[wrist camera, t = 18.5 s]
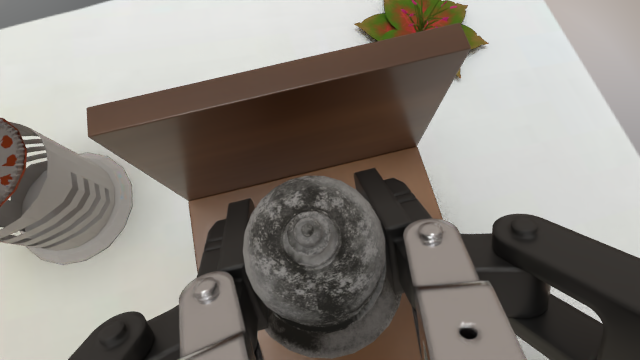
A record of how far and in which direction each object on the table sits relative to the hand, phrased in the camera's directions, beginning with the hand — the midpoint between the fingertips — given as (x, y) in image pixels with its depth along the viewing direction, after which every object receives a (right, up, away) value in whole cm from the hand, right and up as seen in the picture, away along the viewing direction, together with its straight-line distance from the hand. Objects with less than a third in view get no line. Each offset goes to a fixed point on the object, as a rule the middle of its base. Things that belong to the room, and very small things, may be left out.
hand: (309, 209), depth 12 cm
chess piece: (+1, -4, +4) cm, 6 cm away
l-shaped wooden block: (+1, -7, +16) cm, 17 cm away
